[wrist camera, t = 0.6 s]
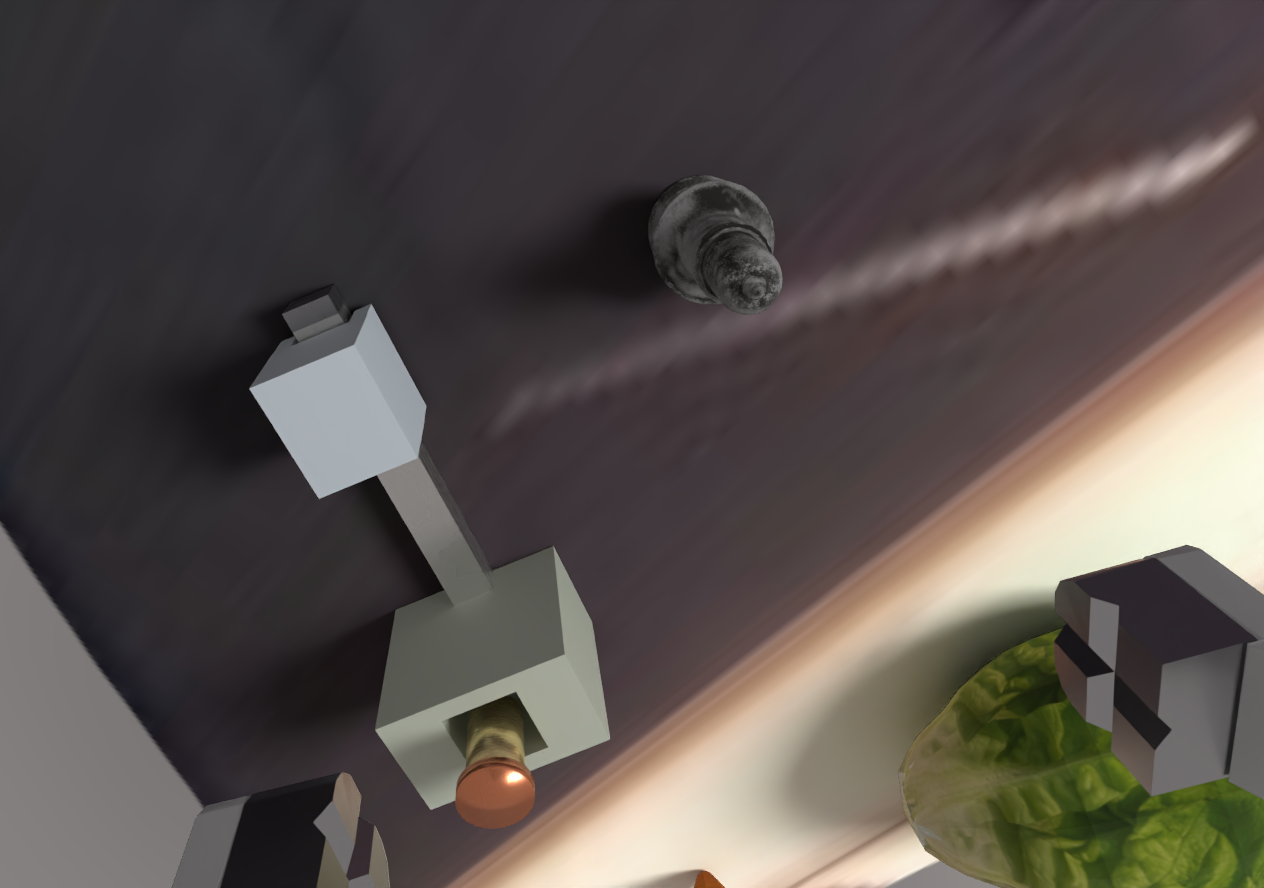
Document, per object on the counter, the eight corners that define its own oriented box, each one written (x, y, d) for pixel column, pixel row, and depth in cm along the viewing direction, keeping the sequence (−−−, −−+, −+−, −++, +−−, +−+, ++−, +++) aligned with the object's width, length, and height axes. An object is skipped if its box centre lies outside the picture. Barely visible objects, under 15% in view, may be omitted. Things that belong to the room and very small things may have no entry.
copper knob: (447, 703, 46) (441, 787, 41) (513, 677, 46) (515, 758, 41) (478, 751, 48) (476, 838, 43) (542, 726, 47) (547, 810, 42)
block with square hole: (389, 612, 53) (367, 732, 44) (553, 546, 53) (564, 654, 44) (435, 684, 56) (423, 812, 47) (592, 622, 56) (610, 739, 47)
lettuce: (838, 633, 59) (920, 904, 46) (1217, 515, 54) (1432, 779, 41) (896, 764, 70) (977, 1016, 56) (1218, 674, 65) (1390, 926, 52)
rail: (290, 302, 45) (281, 314, 43) (334, 283, 45) (327, 294, 43) (455, 585, 53) (453, 605, 51) (493, 570, 53) (492, 589, 51)
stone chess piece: (682, 307, 48) (736, 391, 37) (619, 215, 45) (656, 277, 35) (776, 241, 47) (859, 308, 36) (717, 143, 45) (786, 184, 34)
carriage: (280, 342, 45) (249, 388, 40) (371, 303, 45) (354, 344, 40) (340, 441, 48) (319, 498, 42) (427, 405, 48) (417, 458, 42)
